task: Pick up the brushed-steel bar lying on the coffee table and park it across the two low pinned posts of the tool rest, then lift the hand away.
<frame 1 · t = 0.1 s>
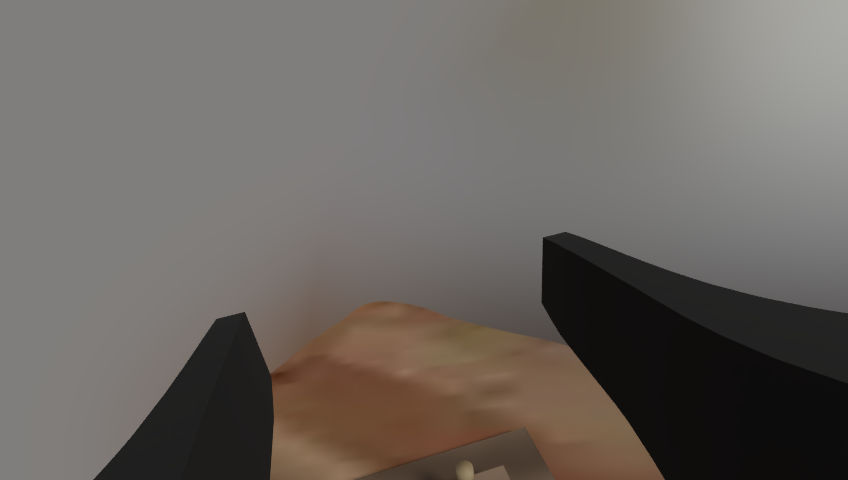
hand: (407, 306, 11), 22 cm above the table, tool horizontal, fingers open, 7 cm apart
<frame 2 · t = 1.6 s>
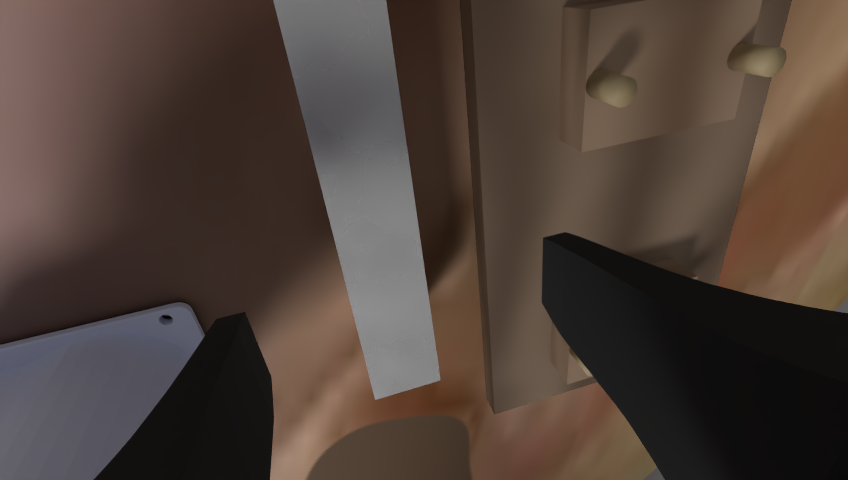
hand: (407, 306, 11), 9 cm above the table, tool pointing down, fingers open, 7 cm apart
steel bar: (354, 168, 19), on the table
tool rest: (607, 195, 23), on the table
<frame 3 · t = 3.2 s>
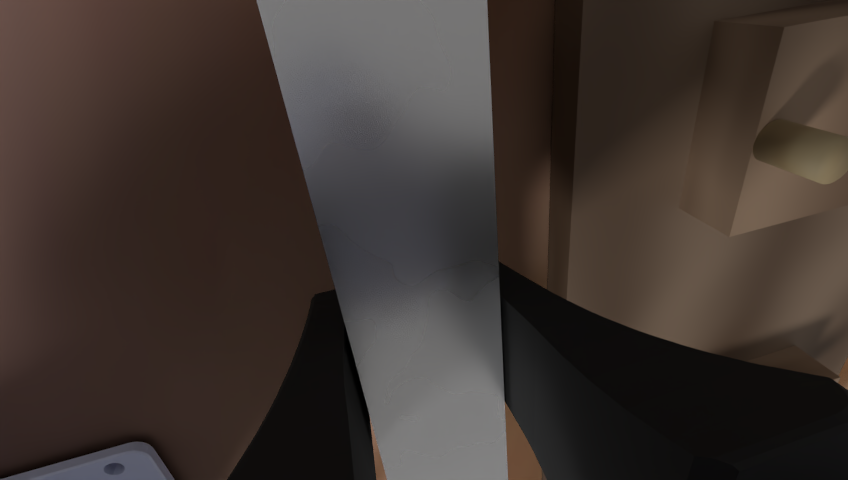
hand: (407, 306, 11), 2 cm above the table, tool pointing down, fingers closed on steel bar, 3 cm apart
steel bar: (386, 252, 13), on the table, touching gripper
tool rest: (719, 269, 17), on the table
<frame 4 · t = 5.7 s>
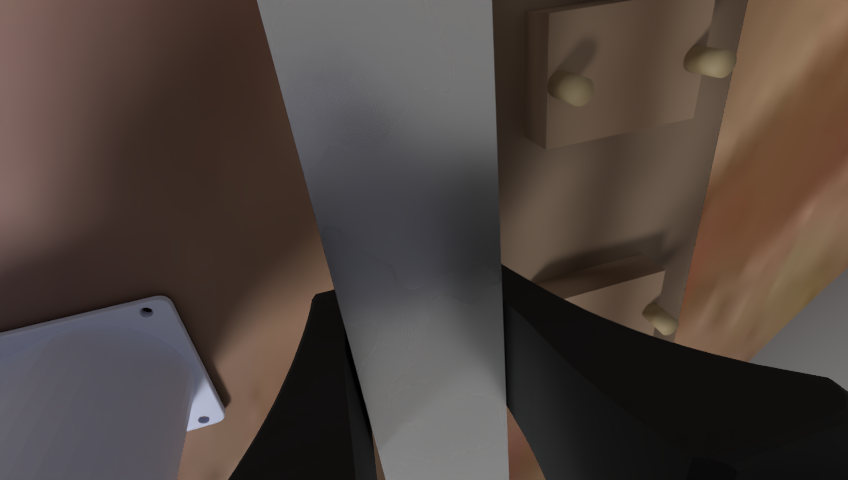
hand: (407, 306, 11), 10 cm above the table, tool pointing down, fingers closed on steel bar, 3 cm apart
steel bar: (387, 254, 13), point 8 cm above the table, touching gripper
tool rest: (577, 193, 24), on the table
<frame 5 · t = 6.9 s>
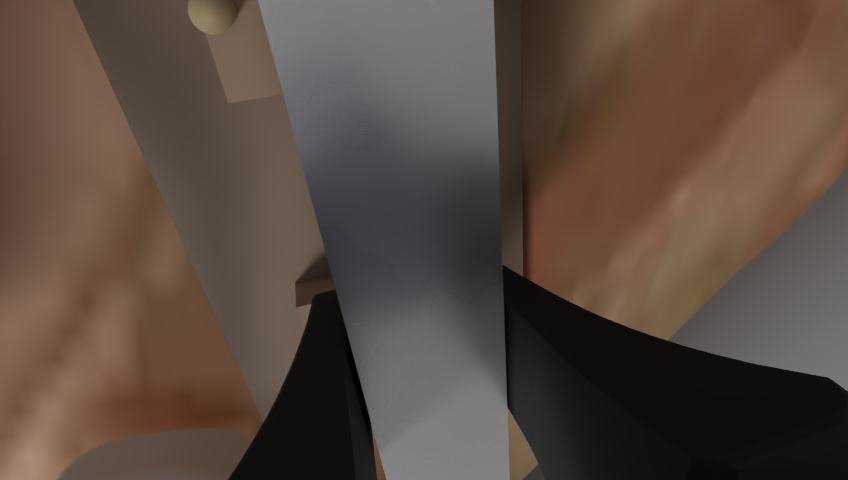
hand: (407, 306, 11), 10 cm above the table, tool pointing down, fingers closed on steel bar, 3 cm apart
steel bar: (387, 254, 13), point 7 cm above the table, touching gripper
tool rest: (354, 168, 19), on the table
when the fingers open (6 cm above the table, at t = 7.9 s): steel bar stays where it is, resting on tool rest.
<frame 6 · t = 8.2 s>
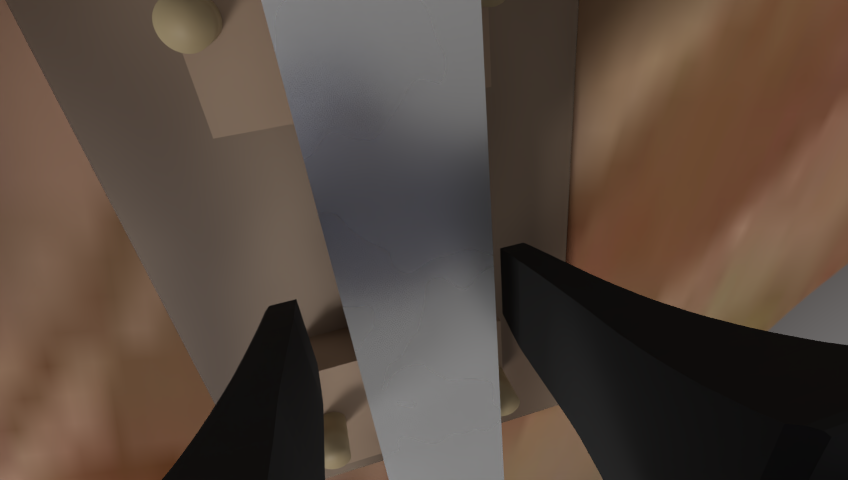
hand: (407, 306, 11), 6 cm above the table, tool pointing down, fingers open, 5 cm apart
steel bar: (385, 245, 13), point 3 cm above the table, touching tool rest
tool rest: (368, 205, 16), on the table
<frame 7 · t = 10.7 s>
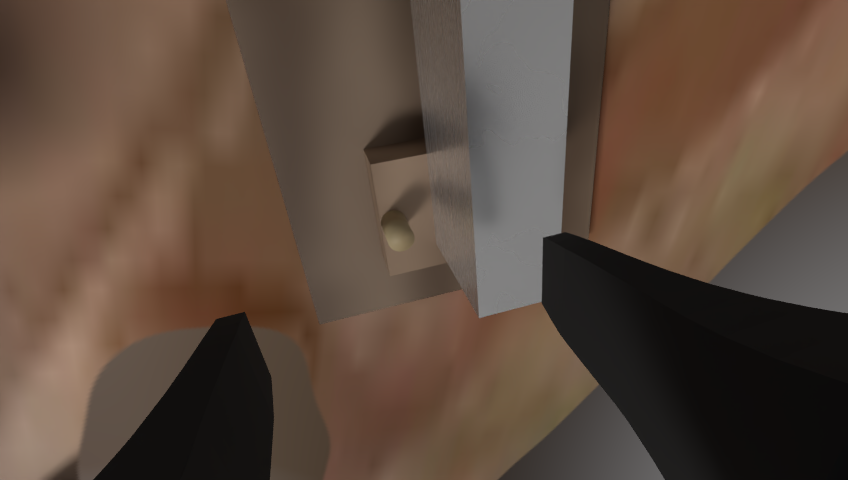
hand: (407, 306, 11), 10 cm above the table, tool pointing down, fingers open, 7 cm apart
steel bar: (454, 30, 15), point 3 cm above the table, touching tool rest
tool rest: (430, 24, 18), on the table
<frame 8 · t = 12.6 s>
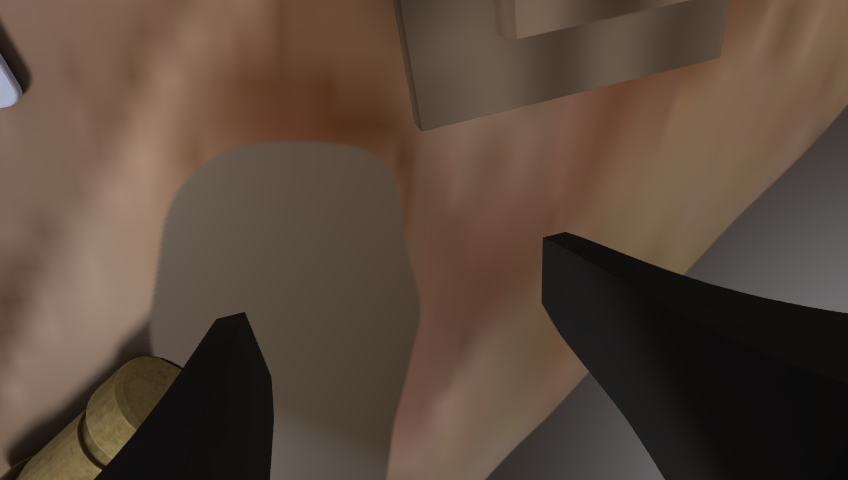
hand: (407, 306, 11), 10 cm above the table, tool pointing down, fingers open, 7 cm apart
gavel: (240, 471, 28), on the table
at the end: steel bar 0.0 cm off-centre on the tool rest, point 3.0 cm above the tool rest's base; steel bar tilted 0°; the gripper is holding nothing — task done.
